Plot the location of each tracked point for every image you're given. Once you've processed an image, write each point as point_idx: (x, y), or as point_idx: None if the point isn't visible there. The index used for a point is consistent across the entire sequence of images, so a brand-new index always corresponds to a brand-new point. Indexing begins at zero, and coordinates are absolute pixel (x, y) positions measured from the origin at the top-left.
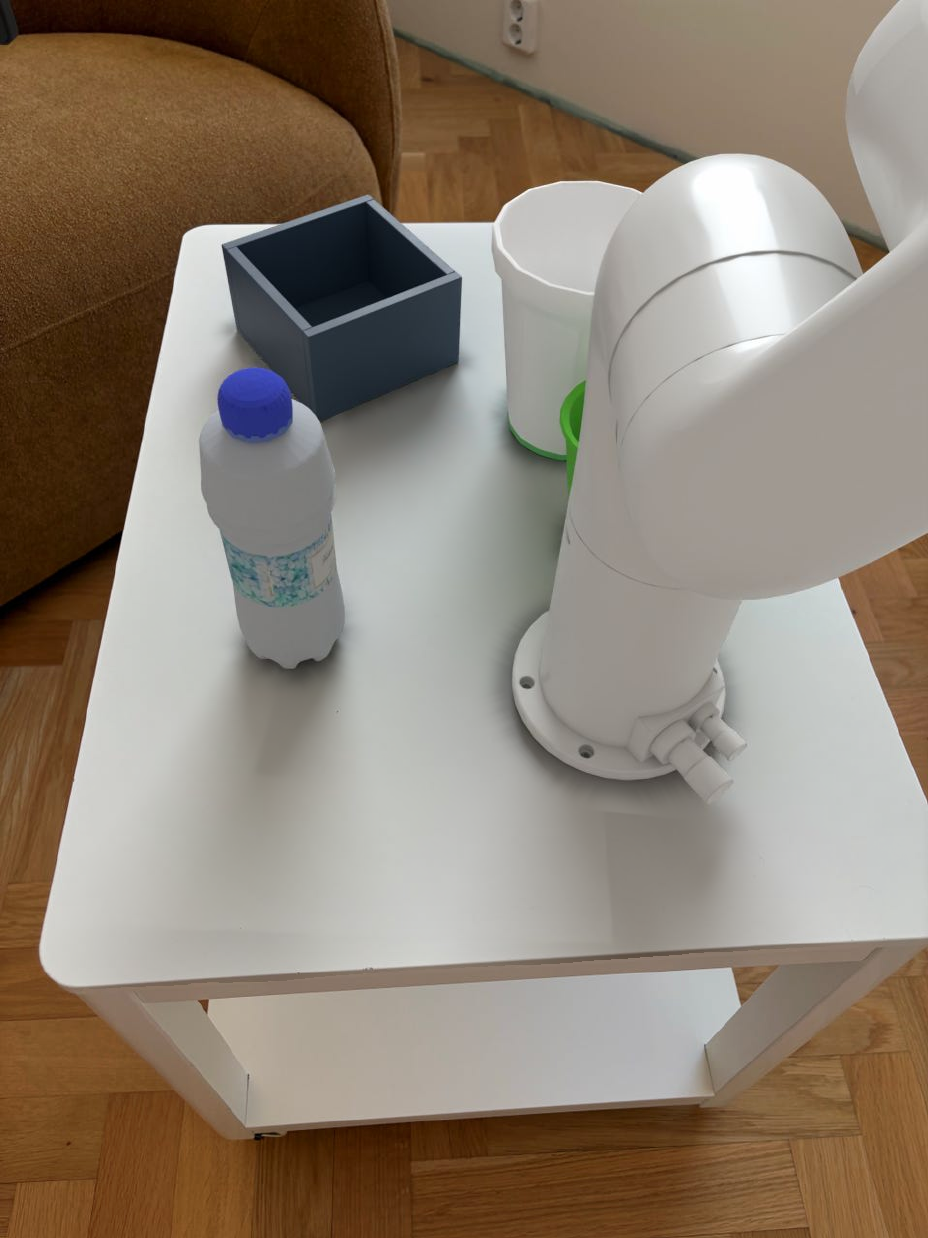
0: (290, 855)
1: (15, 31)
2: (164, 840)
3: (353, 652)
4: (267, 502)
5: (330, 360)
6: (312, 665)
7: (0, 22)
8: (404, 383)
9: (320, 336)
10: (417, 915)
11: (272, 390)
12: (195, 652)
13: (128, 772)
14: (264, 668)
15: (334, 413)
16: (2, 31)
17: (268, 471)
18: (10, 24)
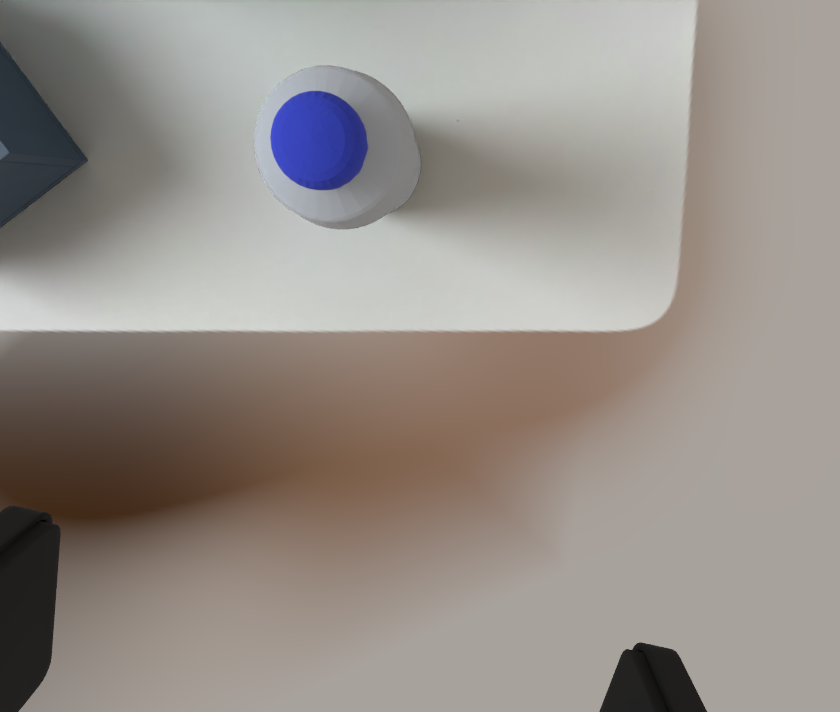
0: (594, 155)
1: (21, 510)
2: (572, 260)
3: None
4: (407, 139)
5: (23, 132)
6: None
7: (30, 543)
8: (9, 56)
9: (3, 138)
10: (658, 40)
11: (324, 109)
12: (392, 257)
13: (510, 298)
14: None
15: (72, 141)
16: (44, 534)
17: (392, 130)
18: (17, 523)
